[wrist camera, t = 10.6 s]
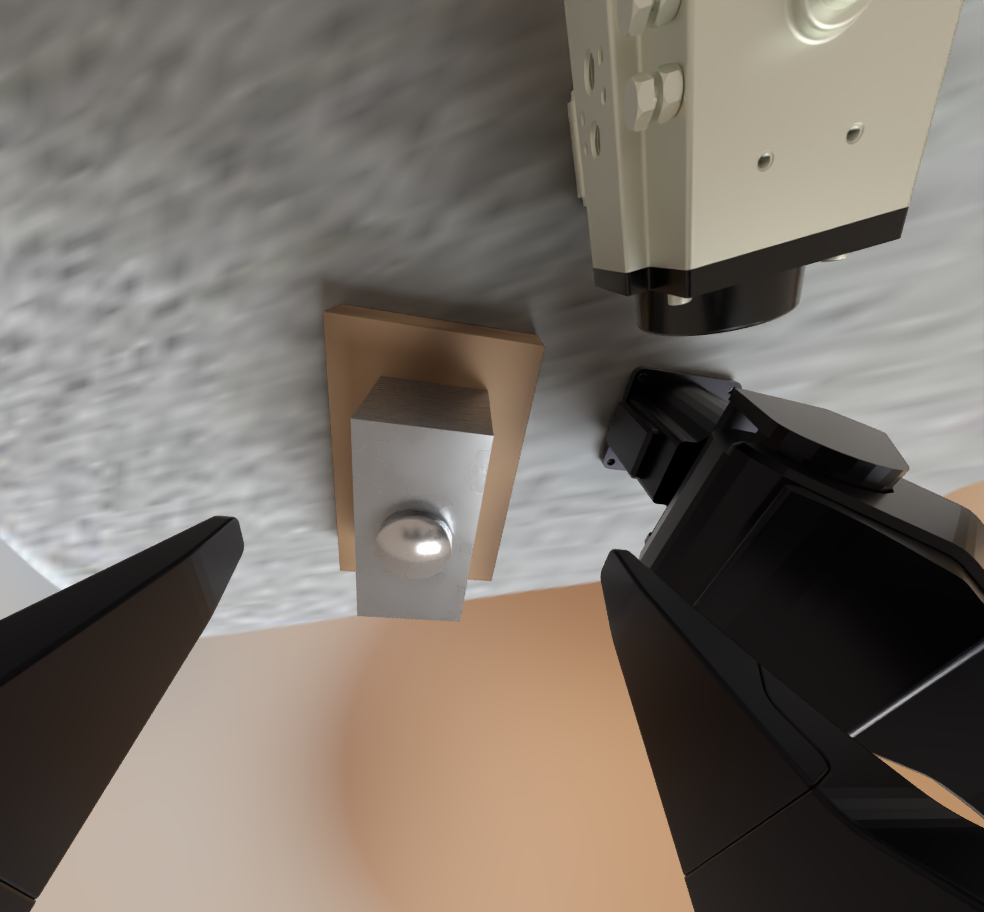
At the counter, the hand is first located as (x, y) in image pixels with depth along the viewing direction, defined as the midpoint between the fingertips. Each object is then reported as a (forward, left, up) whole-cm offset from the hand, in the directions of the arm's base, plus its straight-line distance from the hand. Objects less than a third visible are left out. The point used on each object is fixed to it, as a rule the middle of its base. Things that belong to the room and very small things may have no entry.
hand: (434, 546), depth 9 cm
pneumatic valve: (-5, -11, -13) cm, 18 cm away
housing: (+1, +5, -10) cm, 12 cm away
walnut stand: (+1, +5, -13) cm, 14 cm away
